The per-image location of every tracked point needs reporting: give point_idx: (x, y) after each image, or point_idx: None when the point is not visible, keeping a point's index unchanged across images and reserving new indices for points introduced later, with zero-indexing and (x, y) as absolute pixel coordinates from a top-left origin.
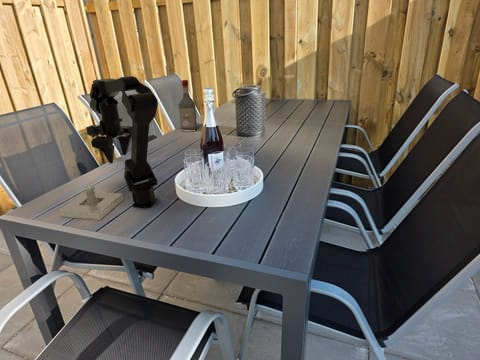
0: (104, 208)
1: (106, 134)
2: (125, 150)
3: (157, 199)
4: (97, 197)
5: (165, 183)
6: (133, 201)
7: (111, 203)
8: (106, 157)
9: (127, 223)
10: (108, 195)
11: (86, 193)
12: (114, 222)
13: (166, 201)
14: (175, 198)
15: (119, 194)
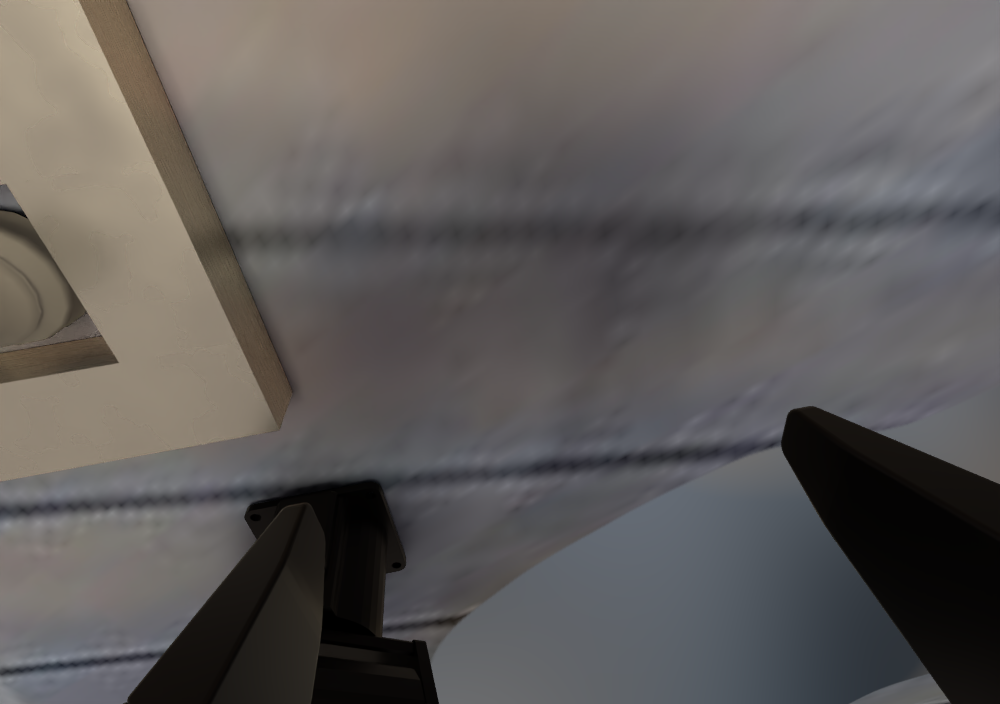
0: None
1: None
2: (842, 530)
3: (399, 565)
4: (70, 282)
5: (646, 473)
6: (277, 506)
7: (103, 457)
8: (184, 643)
9: (76, 590)
10: (176, 354)
11: None
12: (21, 536)
13: (407, 597)
14: (458, 610)
15: (254, 422)
